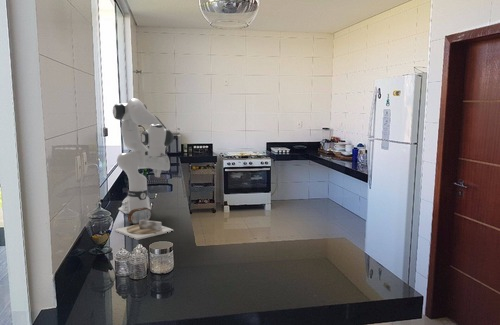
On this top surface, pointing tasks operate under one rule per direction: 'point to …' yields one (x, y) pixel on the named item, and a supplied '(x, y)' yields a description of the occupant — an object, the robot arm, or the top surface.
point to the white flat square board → (141, 236)
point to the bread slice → (139, 215)
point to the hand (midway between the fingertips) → (157, 177)
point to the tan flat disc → (145, 227)
